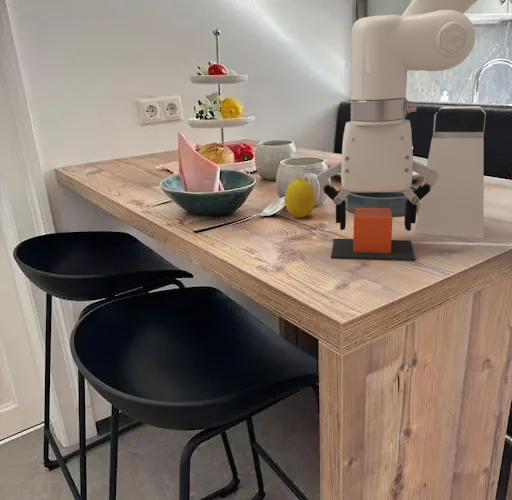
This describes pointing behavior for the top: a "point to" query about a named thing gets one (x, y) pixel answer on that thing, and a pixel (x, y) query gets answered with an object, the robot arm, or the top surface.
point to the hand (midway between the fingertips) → (374, 227)
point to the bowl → (378, 201)
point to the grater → (455, 185)
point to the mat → (398, 252)
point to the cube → (372, 230)
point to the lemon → (299, 198)
